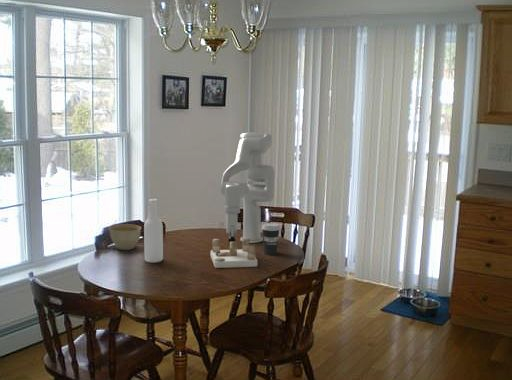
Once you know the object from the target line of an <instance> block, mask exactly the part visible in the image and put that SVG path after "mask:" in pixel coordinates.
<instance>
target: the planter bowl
mask: <svg viewBox="0 0 512 380" xmlns="http://www.w3.org/2000/svg"><path fill="white" fill-rule="evenodd" d="M141 233H142V227H141V226H140V225H138V224H137V225H136V224H126V223H125V224H115V225H112V226H109V235H110V238H111V241H112V243H113V244H114V245H115V248H116V249H117V250H120V251H121V250H122V251H127V250H133V249H135V247H136V245H137V244H138V242H139V240H140V237H141Z"/></svg>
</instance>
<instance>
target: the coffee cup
mask: <svg viewBox="0 0 512 380" xmlns="http://www.w3.org/2000/svg"><path fill="white" fill-rule="evenodd" d="M261 230H262V238H263V241H262V243H263V253H264V255H267V256H275V255H277V253H278V243H279V235H280V230H281V226H280V224H279V223H274V222H266V223H263V225H262V227H261ZM274 254H275V255H274Z"/></svg>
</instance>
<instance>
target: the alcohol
mask: <svg viewBox="0 0 512 380" xmlns="http://www.w3.org/2000/svg"><path fill="white" fill-rule="evenodd" d="M143 226H144V227H143V232H144V233H143V235H144V237H143V241H144V243H143V245H144V246H143V247H144V250H143V251H144V260H145V262H147V263H153V264H154V263H160V262H162V260H163V259H164V234H163V233H164V230H163V229H164V225H163V221H162V219H160V217H159V208H158V199H157V198H149V199H148V215H147V219H146V221H144V225H143Z"/></svg>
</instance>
